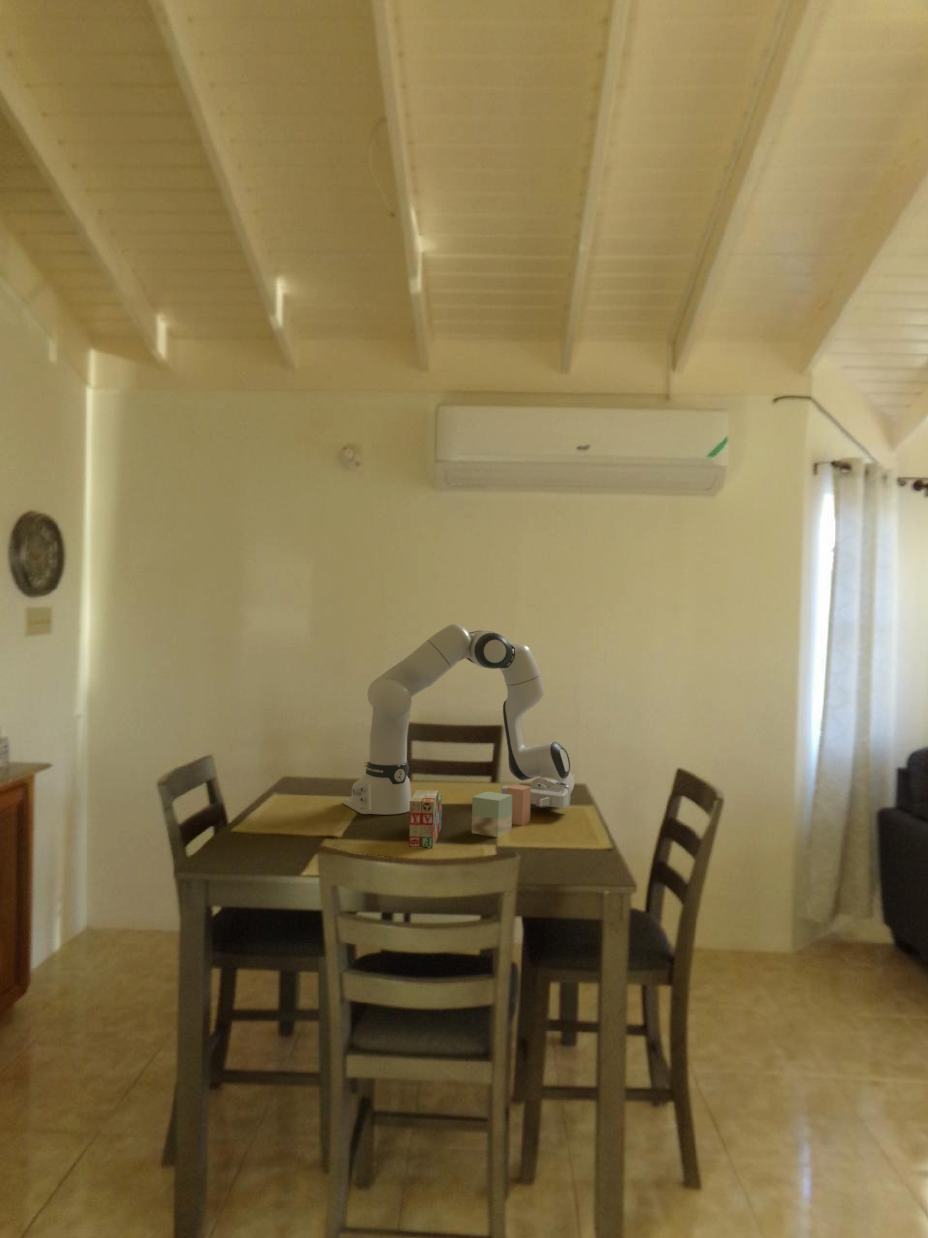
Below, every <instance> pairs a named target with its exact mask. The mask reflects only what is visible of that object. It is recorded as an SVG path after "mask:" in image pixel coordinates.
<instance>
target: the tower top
mask: <svg viewBox="0 0 928 1238" xmlns="http://www.w3.org/2000/svg"><path fill="white" fill-rule="evenodd" d="M471 798H472V799H471V800H472V801H471V802H472V803H471V807H472V809H471V810H472V811H471V812H472V813H471V816H472V815H474V816H480V817H487V818H493V819H500V818H502V817H505V816H507V815H509V814H511V813H512V795H509V794H502V793H501V792H494V791H488V790H487V791H484V792H482V793H479V794H476V795H473V796H472V797H471Z"/></svg>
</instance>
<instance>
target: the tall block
mask: <svg viewBox="0 0 928 1238" xmlns="http://www.w3.org/2000/svg"><path fill="white" fill-rule="evenodd" d="M522 785H523V784H518V785H513V786H510V787H508V788H507V794H509V795H512V825H516V826H517V825H518V826H524V825H526V824H528V823H530V822H531V804H530V797H531V787H529V785H526V786H522Z"/></svg>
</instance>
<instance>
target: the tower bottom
mask: <svg viewBox="0 0 928 1238" xmlns="http://www.w3.org/2000/svg"><path fill="white" fill-rule="evenodd" d="M512 825H513V824H512V813H511V814H509V815H507V816H505V817H502V818H500V819H493V818H487V817H480V816H474V815H472V814H471V834H474V835H475V834H476V835H480V836H486V837H487V836H488V837H493V838H500V837H502V836H504V835H506V834H508V833H510V832H512V831H513V830H512V827H513V826H512ZM511 830H512V831H511ZM509 831H510V832H509ZM507 832H508V833H507ZM505 833H506V834H505Z"/></svg>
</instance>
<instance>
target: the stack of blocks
mask: <svg viewBox="0 0 928 1238" xmlns="http://www.w3.org/2000/svg"><path fill="white" fill-rule="evenodd" d="M442 810H443V806H442V793H439V790H431V789H429V790H428V789H427V790H426V789H425V790H423V789H416V790H415V792H414V794H413V795H412V796H411V800H410V811H409V816H408V817H409V819H408V820H409V831H408V832H409V834H408V848H412V847H430V848H429V849H433V848H434V847H435V845H436V842H437V840H438V836H439V834H440V832H441V829H442V827H443V826H442V819H443V818H442V815H443V812H442ZM434 844H435V845H434ZM432 847H433V848H432Z"/></svg>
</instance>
